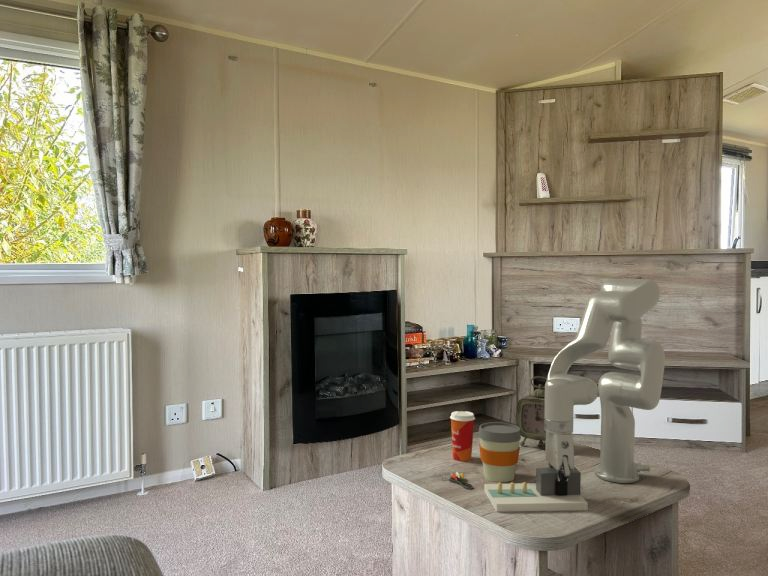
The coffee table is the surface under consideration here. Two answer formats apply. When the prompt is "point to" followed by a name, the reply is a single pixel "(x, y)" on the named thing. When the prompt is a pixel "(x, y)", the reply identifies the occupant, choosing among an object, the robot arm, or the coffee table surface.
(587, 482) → the coffee table surface
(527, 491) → the board
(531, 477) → the coffee table surface
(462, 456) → the coffee cup
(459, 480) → the composite cable
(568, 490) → the block
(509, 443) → the reusable coffee cup
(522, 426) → the tabletop clock
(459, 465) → the coffee table surface
